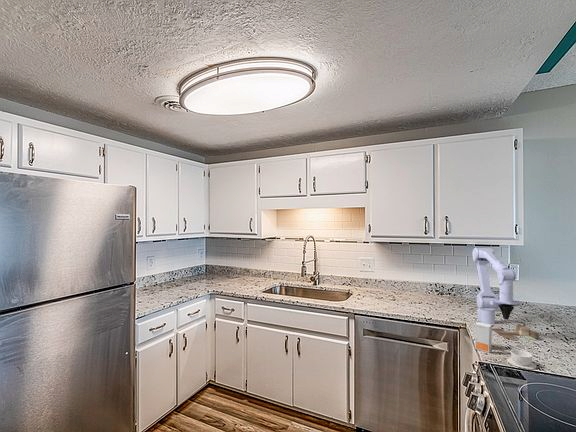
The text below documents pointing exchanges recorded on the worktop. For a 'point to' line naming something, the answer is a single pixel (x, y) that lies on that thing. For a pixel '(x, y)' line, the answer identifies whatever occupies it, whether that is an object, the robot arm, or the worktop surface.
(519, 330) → the birch block
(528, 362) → the teacup
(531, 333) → the box
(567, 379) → the worktop surface
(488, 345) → the skincare box
